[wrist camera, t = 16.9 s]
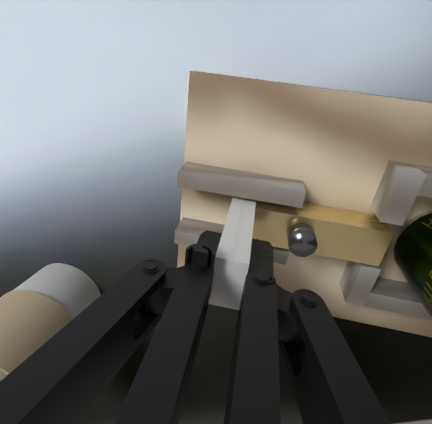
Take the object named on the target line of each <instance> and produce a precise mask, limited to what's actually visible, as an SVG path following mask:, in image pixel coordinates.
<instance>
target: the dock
mask: <svg viewBox="0 0 432 424" xmlns="http://www.w3.org/2000/svg"><path fill="white" fill-rule="evenodd" d="M178 187H182V201H181V216H180V223H179V225H178V226H177V228H176V230H175V240H174V243H176V244H179V246H178V261H177V268H178V267H181V266H184V264H185V253H186V248H187V247H188V246H190V245H192V244H197V241H198V239H199V237H200V234H202V233H203V232H204V231H206V230H208V231H213V232H218V233H222V232H223V229H224V226H225V222H226V219H227V215H228V212H229V209H230V205H231V202H232V198H238V199H244V200H249V201H255V200H258V201H264V202H270V203H275V204H281V205H287V206H292V207H298V208H302V206H303V202H305V203H310V204H316V205H322V206H328V207H333V208H339V209H345V210H351V211H357V212H362V213H368V214H374V215H376V216H377V218H378V219H379V220H380V222H384V223H387V224H388V225H389V227H390V228H391V229H392V230H393V232H394V235H393V237H392V239H391V241H390V244H389V246H388V248H387V250H386V252H385V254H384V256H383V258H382V261H381V263H380V265H379V266H373V265H368V264H363V263H358V262H352V261H347V260H342V259H336V258H331V257H326V256H321V255H315V254H312V255H310V256H307V257H299V256H296V255H294V254H292V253H291V252H290V250H289V249H284V248H278V247H273V246H272V247H273V271H274V278H275V279H276V283H277V284H278V285H279V286H280V287H281V288H283V289H285V290H286V291H289V292H291V293H294V291H296V290H298V289H307V290H311V291H313V292H315V293H317V294H318V295H319V296H321V298H322V299H323V300H324V302H325V304H326V306H327V307H328V309H329V311H330V313H331V315H332V317H337V318H342V319H347V320H351V321H356V322H361V323H366V324H370V325H375V326H380V327H385V328H390V329H394V330H399V331H404V332H409V333H413V334H418V335H423V336H428V337H432V318H431V316H430V315H429V313H428V312H427V310H426V309H425V307H424V306H423V304H422V303H421V301H420V299H419V298H418V296H417V295H416V293H415V292H414V290H413V289H412V287H411V286H410V284H409V283H408V281H407V280H406V278H405V277H404V275H403V274H402V272H401V270H400V269H399V267H398V265H397V263H396V261H395V259H394V244H395V240H396V238H397V235H398V232H399V231H400V230H401V229H402V227H403V226H404V225H405V224H406V223H407V222H408V221H410V220H411V219H412V218H414V217H415V216H417V215H419V214H422V213H424V212H427V211H429V210H432V103H431V102H423V101H416V100H408V99H401V98H393V97H386V96H378V95H371V94H363V93H356V92H348V91H341V90H333V89H326V88H318V87H311V86H303V85H296V84H288V83H281V82H273V81H266V80H258V79H251V78H243V77H236V76H228V75H221V74H213V73H206V72H198V71H190V79H189V94H188V110H187V125H186V140H185V155H184V166H183V167H182V168H181V169H180V170H179V171H178Z"/></svg>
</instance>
